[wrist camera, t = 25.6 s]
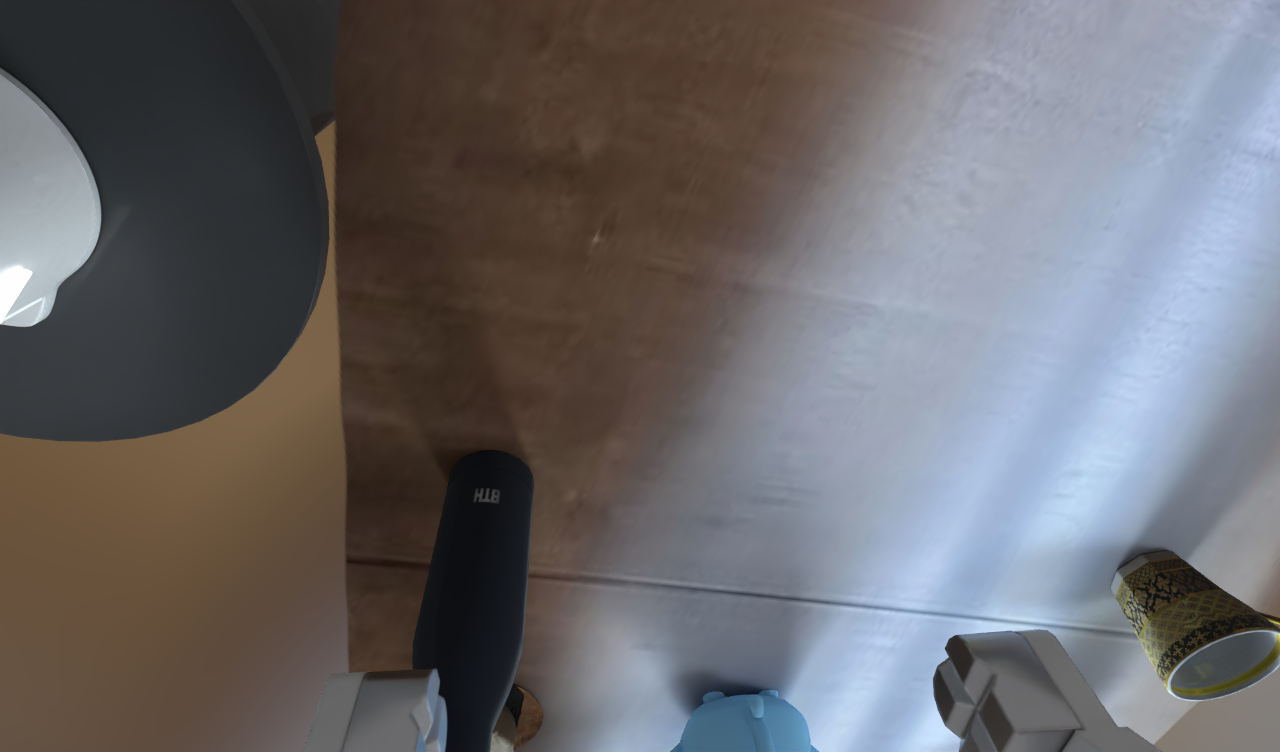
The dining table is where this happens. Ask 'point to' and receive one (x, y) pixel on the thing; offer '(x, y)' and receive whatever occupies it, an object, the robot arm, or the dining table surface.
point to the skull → (516, 721)
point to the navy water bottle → (477, 594)
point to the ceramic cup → (1195, 628)
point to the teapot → (745, 725)
